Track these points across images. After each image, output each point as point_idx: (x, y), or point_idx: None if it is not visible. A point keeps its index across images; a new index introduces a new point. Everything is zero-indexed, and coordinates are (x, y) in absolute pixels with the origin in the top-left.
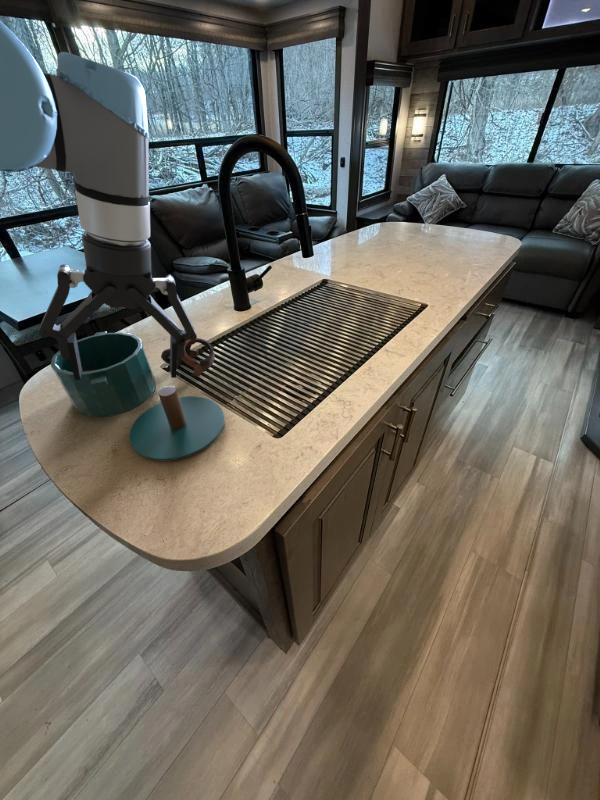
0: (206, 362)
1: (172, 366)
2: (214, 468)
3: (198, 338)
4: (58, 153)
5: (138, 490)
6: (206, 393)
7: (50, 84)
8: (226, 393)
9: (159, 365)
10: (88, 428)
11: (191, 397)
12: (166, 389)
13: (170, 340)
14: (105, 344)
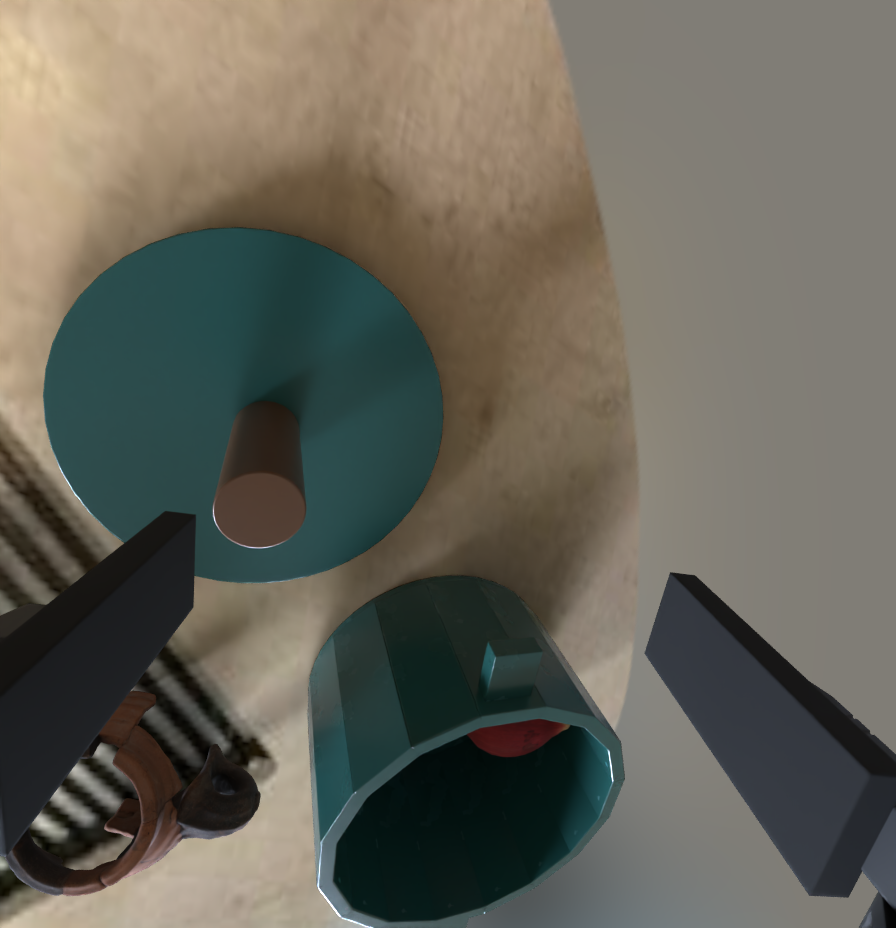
0: None
1: (145, 555)
2: (160, 97)
3: (53, 893)
4: None
5: (460, 182)
6: None
7: None
8: (17, 553)
9: (279, 774)
10: (528, 545)
11: None
12: (261, 524)
13: (39, 792)
14: (441, 872)
